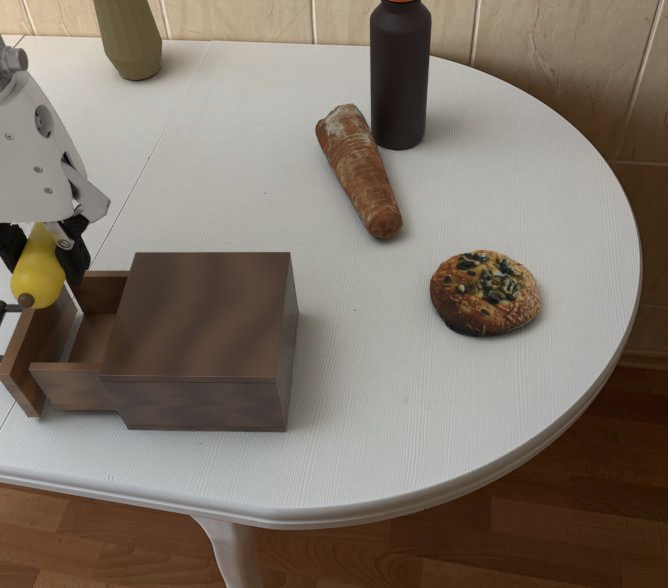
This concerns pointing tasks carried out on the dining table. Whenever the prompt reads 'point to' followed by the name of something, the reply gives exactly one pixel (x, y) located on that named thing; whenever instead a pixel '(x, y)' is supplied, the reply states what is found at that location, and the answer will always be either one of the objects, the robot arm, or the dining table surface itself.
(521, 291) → the bread roll
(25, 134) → the robot arm
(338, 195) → the dining table surface
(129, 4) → the squeeze bottle
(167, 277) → the cabinet
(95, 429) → the dining table surface
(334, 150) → the bread
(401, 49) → the vinegar
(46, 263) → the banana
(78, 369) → the drawer
